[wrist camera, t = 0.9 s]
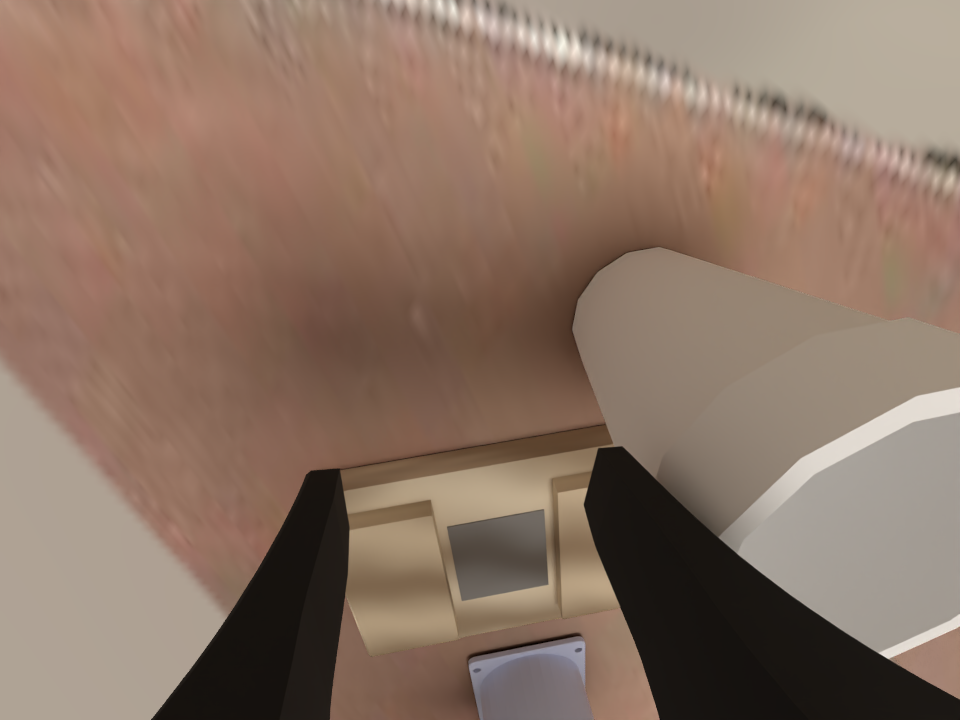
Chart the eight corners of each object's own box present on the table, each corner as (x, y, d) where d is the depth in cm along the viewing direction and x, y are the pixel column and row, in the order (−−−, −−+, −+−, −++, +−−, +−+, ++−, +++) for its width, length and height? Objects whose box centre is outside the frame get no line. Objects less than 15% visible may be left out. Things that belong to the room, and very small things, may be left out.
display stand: (635, 580, 31) (652, 616, 29) (370, 631, 30) (367, 673, 28) (648, 417, 25) (672, 448, 23) (312, 475, 24) (303, 513, 22)
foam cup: (701, 403, 25) (948, 664, 14) (526, 404, 23) (643, 699, 12) (771, 215, 20) (1224, 374, 9) (560, 200, 19) (795, 371, 8)
